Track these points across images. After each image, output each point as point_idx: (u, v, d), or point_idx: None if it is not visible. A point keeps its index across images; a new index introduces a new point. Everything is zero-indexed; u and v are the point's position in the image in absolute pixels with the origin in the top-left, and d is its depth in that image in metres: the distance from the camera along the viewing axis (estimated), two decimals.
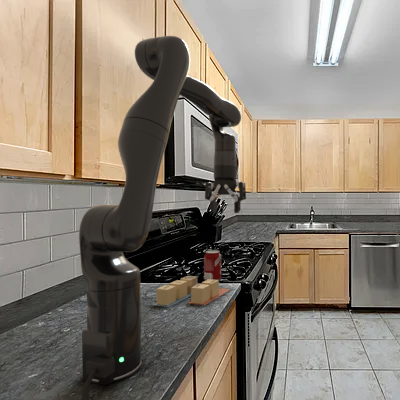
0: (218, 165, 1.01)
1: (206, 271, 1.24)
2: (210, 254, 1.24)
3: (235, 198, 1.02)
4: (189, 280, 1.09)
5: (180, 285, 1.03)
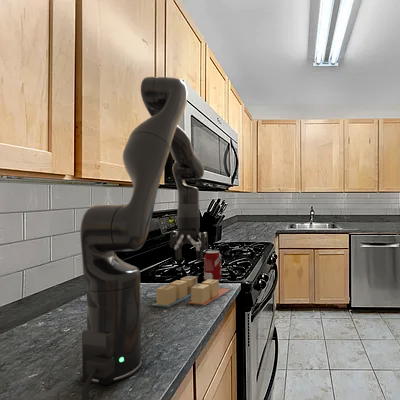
0: (181, 217, 1.07)
1: (206, 271, 1.24)
2: (210, 254, 1.24)
3: (197, 248, 1.09)
4: (189, 280, 1.09)
5: (180, 285, 1.03)
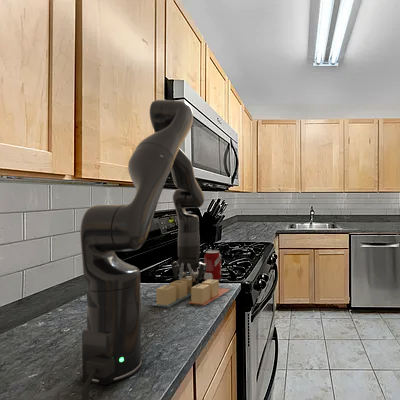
0: (181, 246, 1.08)
1: (206, 271, 1.24)
2: (210, 254, 1.24)
3: (193, 278, 1.09)
4: (189, 280, 1.09)
5: (180, 285, 1.03)
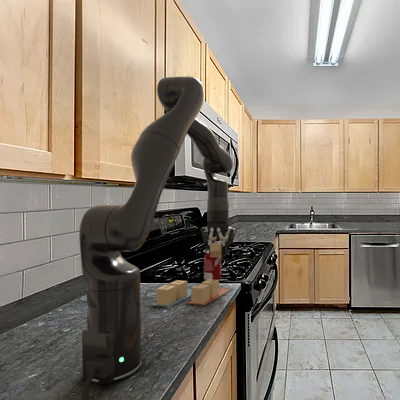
0: (211, 210, 1.09)
1: (206, 271, 1.24)
2: None
3: (223, 243, 1.10)
4: (219, 244, 1.10)
5: (180, 285, 1.03)
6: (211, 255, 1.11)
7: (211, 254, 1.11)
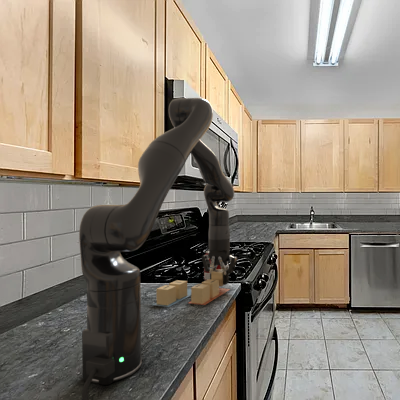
0: (212, 239, 1.09)
1: None
2: None
3: (224, 271, 1.11)
4: (220, 273, 1.10)
5: (180, 285, 1.03)
6: None
7: None
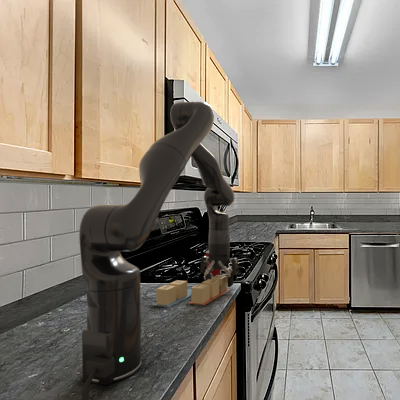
0: (212, 244, 1.09)
1: None
2: None
3: (228, 274, 1.10)
4: (220, 279, 1.10)
5: (180, 285, 1.03)
6: None
7: None
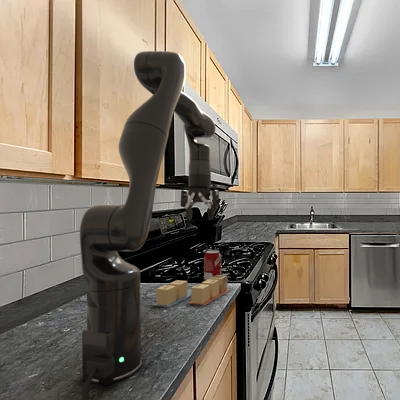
0: (192, 174, 1.06)
1: (206, 271, 1.24)
2: (210, 254, 1.24)
3: (208, 206, 1.07)
4: (220, 279, 1.10)
5: (180, 285, 1.03)
6: None
7: None
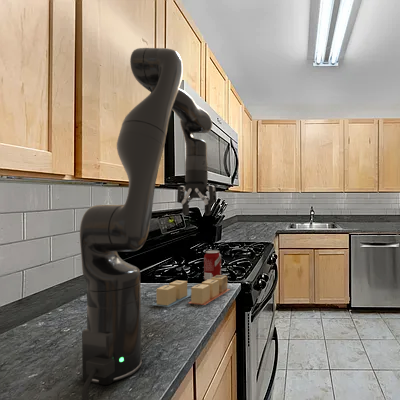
0: (189, 170, 1.05)
1: (206, 271, 1.24)
2: (210, 254, 1.24)
3: (205, 201, 1.06)
4: (220, 279, 1.10)
5: (180, 285, 1.03)
6: None
7: None
